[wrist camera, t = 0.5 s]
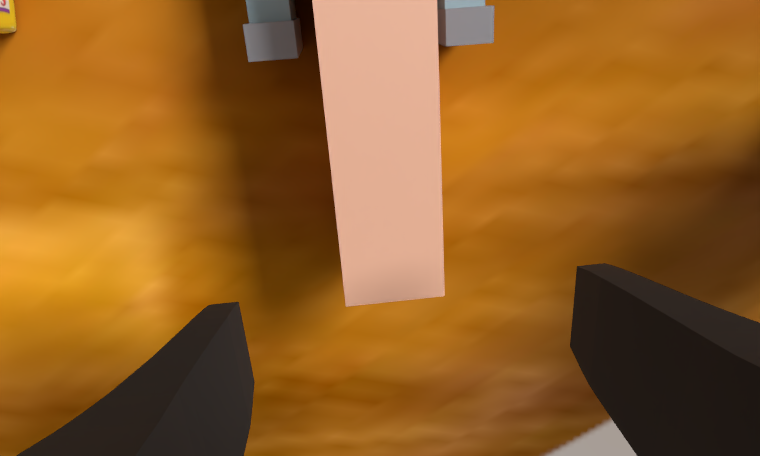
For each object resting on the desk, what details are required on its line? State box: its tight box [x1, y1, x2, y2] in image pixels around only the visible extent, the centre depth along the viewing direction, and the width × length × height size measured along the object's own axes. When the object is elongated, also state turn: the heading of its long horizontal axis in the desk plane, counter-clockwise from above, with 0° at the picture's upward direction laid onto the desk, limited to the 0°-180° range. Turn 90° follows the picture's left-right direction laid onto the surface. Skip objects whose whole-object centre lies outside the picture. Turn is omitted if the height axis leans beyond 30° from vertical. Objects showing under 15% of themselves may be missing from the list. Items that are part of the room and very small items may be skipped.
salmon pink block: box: [312, 0, 445, 307], centre depth 16 cm, size 3×12×6 cm, turn 4°
